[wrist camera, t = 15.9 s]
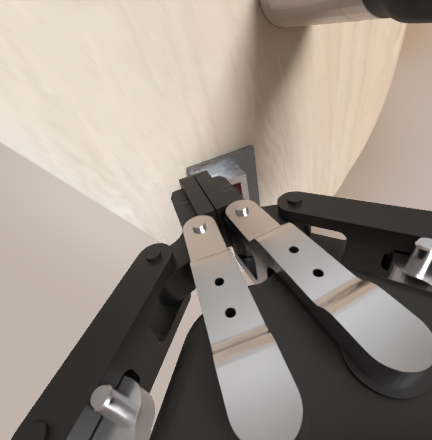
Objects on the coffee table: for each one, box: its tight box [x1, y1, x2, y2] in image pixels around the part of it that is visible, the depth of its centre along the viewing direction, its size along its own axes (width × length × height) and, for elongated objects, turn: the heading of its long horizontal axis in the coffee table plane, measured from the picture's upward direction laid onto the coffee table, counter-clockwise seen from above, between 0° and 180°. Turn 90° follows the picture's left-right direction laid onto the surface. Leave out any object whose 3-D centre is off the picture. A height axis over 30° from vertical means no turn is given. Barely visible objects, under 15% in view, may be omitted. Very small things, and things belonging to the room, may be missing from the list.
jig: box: [187, 146, 260, 206], centre depth 47 cm, size 12×14×4 cm
